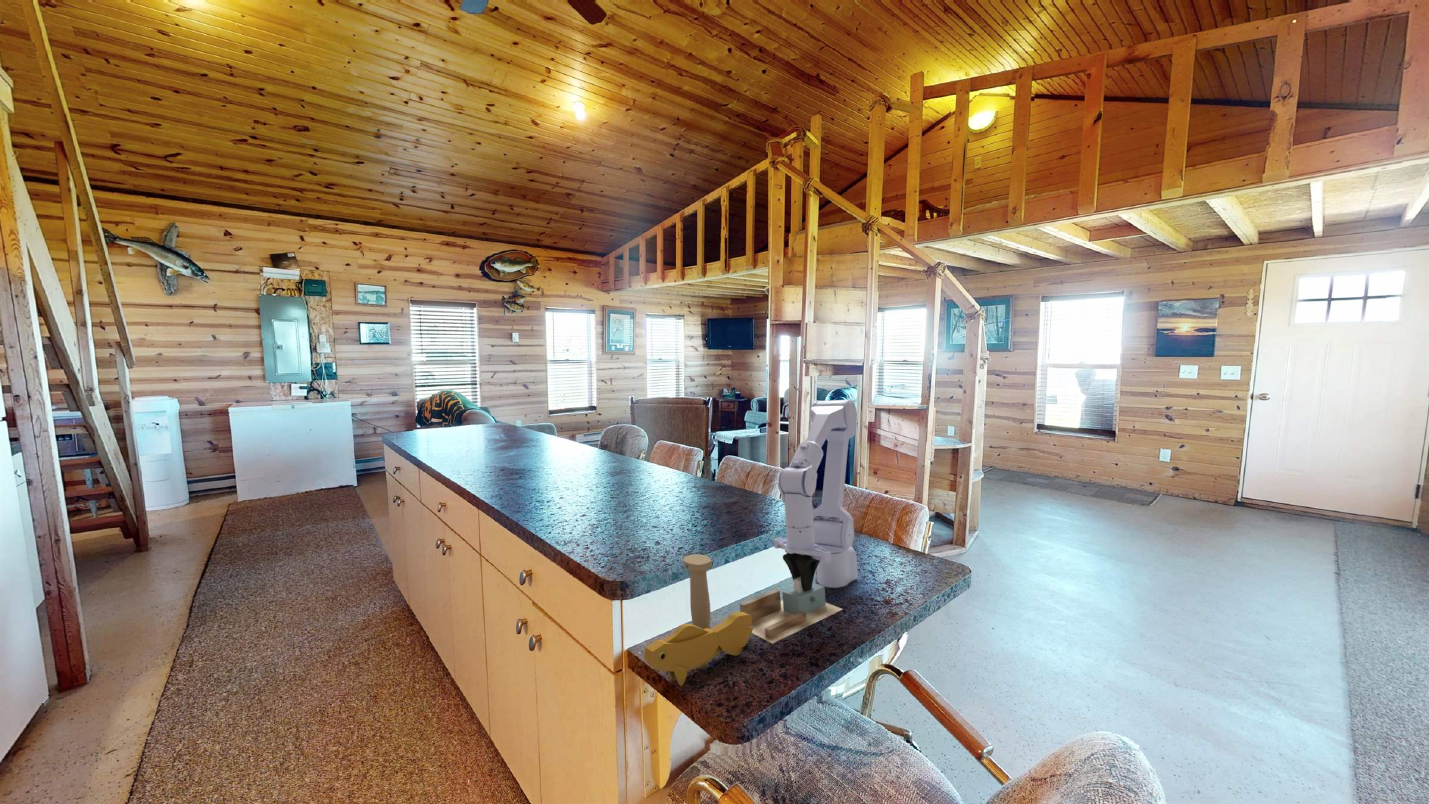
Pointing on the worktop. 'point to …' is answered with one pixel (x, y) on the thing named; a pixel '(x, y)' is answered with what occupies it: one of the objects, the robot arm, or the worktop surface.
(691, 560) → the handle
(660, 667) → the decorative fish
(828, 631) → the worktop surface
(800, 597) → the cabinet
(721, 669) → the worktop surface
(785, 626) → the cleat board
